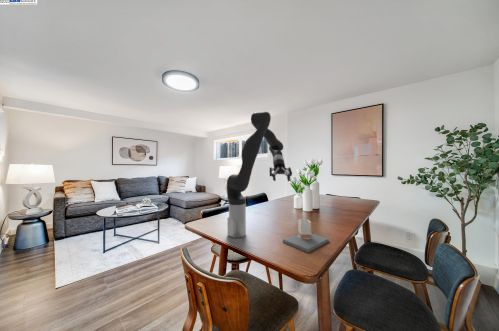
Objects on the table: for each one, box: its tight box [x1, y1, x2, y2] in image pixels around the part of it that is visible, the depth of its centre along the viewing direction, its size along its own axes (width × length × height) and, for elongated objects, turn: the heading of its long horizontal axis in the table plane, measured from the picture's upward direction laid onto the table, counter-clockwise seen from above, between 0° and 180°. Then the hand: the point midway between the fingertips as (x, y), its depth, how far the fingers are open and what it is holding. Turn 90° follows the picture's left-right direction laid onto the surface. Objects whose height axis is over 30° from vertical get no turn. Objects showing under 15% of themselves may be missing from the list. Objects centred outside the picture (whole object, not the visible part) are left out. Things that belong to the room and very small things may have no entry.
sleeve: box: [297, 218, 312, 238], centre depth 92 cm, size 5×5×8 cm
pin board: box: [282, 232, 330, 253], centre depth 89 cm, size 18×14×5 cm
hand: (281, 180), depth 113 cm, fingers open, 8 cm apart
